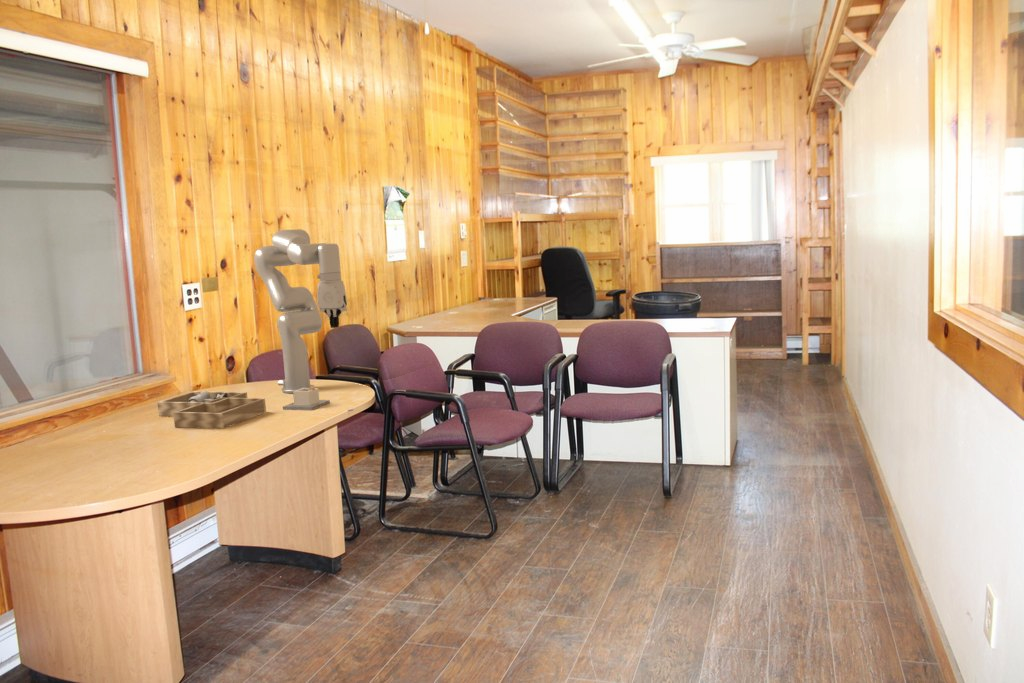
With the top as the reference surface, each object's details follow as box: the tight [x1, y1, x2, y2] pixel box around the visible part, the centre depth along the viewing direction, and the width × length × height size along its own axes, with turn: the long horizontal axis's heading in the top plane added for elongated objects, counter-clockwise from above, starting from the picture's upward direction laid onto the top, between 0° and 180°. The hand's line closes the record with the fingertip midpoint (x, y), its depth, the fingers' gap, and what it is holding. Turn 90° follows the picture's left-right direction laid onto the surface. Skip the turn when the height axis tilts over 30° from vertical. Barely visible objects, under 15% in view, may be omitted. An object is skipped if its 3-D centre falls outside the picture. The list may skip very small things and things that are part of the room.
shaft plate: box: [282, 390, 331, 411], centre depth 301 cm, size 12×12×6 cm
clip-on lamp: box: [188, 390, 227, 403], centre depth 302 cm, size 12×6×18 cm
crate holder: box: [157, 391, 248, 417], centre depth 302 cm, size 24×19×5 cm
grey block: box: [292, 386, 320, 405], centre depth 301 cm, size 6×7×6 cm
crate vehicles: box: [173, 397, 267, 430], centre depth 286 cm, size 19×24×5 cm
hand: (334, 327), depth 306 cm, fingers closed
